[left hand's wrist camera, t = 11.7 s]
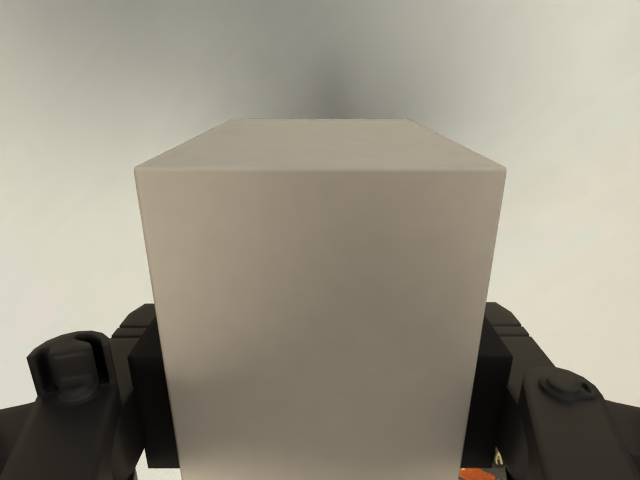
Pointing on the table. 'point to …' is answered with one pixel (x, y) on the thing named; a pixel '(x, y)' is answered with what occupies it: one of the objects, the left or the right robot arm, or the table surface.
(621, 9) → the table surface
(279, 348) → the beam
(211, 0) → the table surface
